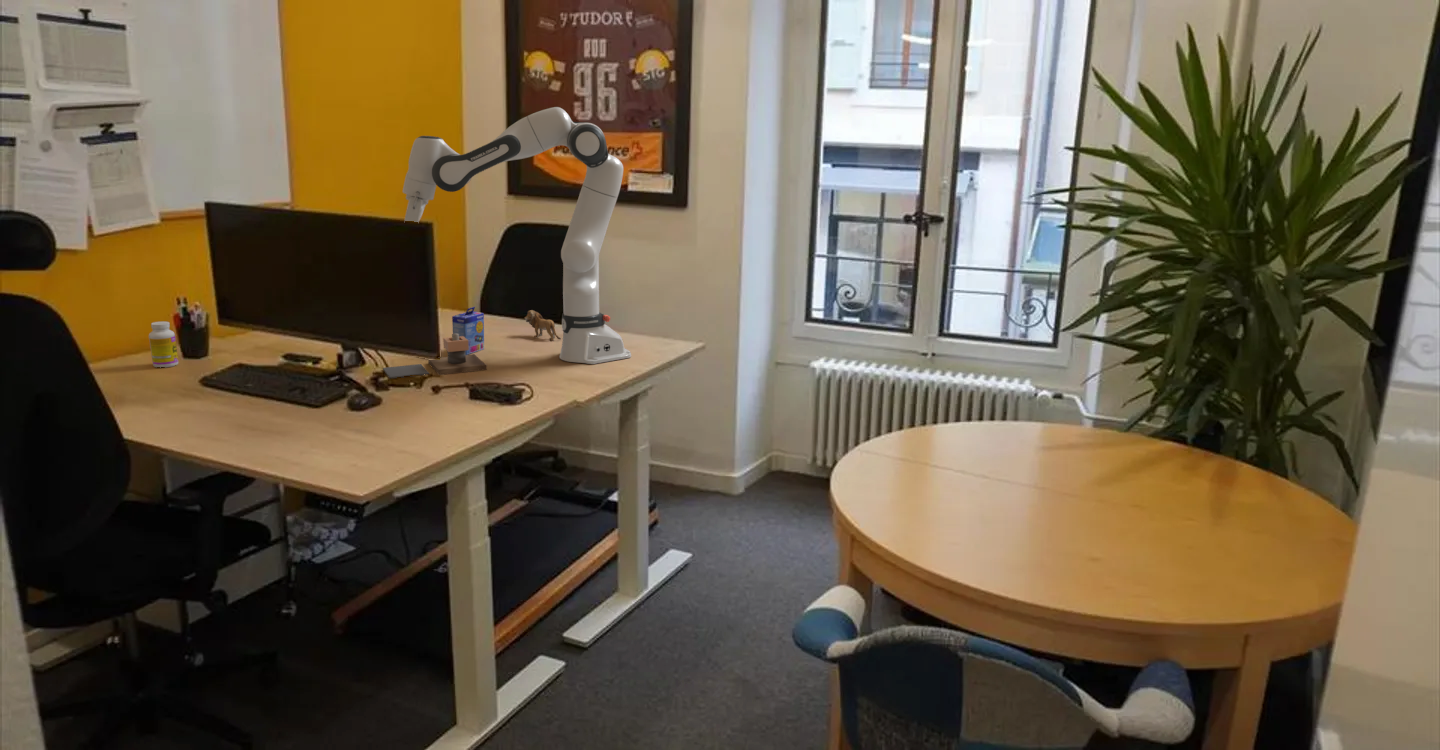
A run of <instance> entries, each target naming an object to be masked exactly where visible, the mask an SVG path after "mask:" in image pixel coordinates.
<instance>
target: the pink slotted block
mask: <svg viewBox="0 0 1440 750" xmlns="http://www.w3.org/2000/svg"><path fill="white" fill-rule="evenodd" d="M442 340H443V341H442V342H443V348H444V350H445V351H446V352H447V351H448V352H455V351H465V350H469V345H468V340H467V339H466V338H465V337H464V336H459V340H456V341H452V336H451V337H449V336H448V337H443V338H442Z"/></svg>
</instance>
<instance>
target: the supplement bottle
mask: <svg viewBox="0 0 1440 750" xmlns="http://www.w3.org/2000/svg"><path fill="white" fill-rule="evenodd" d="M150 325H151V329H152V331H151V332H149V334H148V340H149V348H150V352H151V353H150V354H151V360H152V366H153V367H154V368H157V367H160V368H161V367H165V368H173V367H175V365H176V366H177V365H179V357H178V347H177V343H176V342H177V341H176V334H175V332H174V331H173V330H171V329H170V327H171V326H170V322H169V321H163V320H162V321H153V322H151V324H150ZM160 368H159V369H160ZM161 369H162V368H161Z"/></svg>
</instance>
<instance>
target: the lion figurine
mask: <svg viewBox="0 0 1440 750" xmlns="http://www.w3.org/2000/svg"><path fill="white" fill-rule="evenodd" d="M524 320H525V322H526V323H528V324H529V325H530V326H531V327H532V328H534V332H535V335H534V336H533V338H539V337H542V336H543V333H544V331H546V333H547V334H548V336H550V338H549V341H550V342H552V341H554V339H555V338H556V339H558V340H562V338H561V337H559V336H558V335H557V332H556V328H555V322H554V320H552V319H545V318H543V316H542V315H541V313H539V312H538V311H535V310H533V309H531V310H528V311H527V314H526V316H524Z"/></svg>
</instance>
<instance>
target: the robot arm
mask: <svg viewBox="0 0 1440 750" xmlns="http://www.w3.org/2000/svg"><path fill="white" fill-rule="evenodd" d="M558 146H559V147H560V146H564V147H567V149H569V152H570V153H571V155H572V156H573V157H574V158H576V159H577V160H578V161H580V162H581V163H583V164H584V165H586V172H585V177H584V180H583V182H582V186H581V189H580V191H579V194H578V195H579V196H578V199H577V201H576V204H575V207H574V210H573V213H572V216H571V219H570V220H571V221H570V223H569V225H568V229H567V232H566V234H565V238H564V241H563V243H562V247H561V250H560V258H561V261H562V263H563V264H562V265H563V267H562V268H563V269H562V270H563V271H562V272H563V273H562V275H563V276H562V295H563V296H562V299H563V301H562V302H563V305H562V307H563V309H562V310H563V313H562V315H561V327H562V328H561V329H562V343H561V349H560V353H559V360H562V361H564V362H568V363H569V362H570V363H582V364H588V365H594V364H595V365H596V364H600V363H601V364H602V363H607V362H612V361H617V360H624V359H629V358H631V357H632V353H631V351H630V350H629V349H627V348H625V346H624V345H625V344H624V341H623V337H622V336H621V335H620V334H619V333H618V332H617V331H615V330H614V329H613V328H611V327H610V326H609V325H607V324H606V323H608V322H610V321H611V316H609V315H608V314H604V313H602V312H600V252H601V249H602V246H603V243H604V240H605V237H606V233H607V231H608V228H609V224H610V220H611V218H612V215H613V212H614V209H615V207H616V203H617V201H618V197H619V195H620V191H621V187H622V181H623V177H624V164H623V163H622V161H621V160H620V159H619V158H617V157H616V156H615V155H611V154H610V153H609V150H608V146H607V140H606V137H605V134H604V132H603V131H602V129H601V128H600V127H599V126H598V125H596V124H594V123H591V122H580V121H573V120H572V119H571V117H570V115H569V113H567V112H566V110H565V109H563V108H561V107H559V106H554V107H549V108H546V109H542V110H539V111H536V112H534V113H531V114H529V115H527V116H524V117H522V118H521V119H518V120H517V121H516V122H514V123H513V124H511V125H510V126H508V127H507V128H506V129H505V130H504V131H503V132H501V134H499V135H498V136H497V137H496V138H495V139H493V140H492V141H490V142H488V143H487V144H484V145H481V146H480V147H478V148H475V149H473V150H471V151H468V152H466V153H463V154H460V153H458V152H456V151H455V150H454V149H453V148H451V147H450V145H448V143H446V142H445V141H444V139H443V138H441V137H439V136H433V135H432V136H431V135H420V136H419V137H416V138H415V139H414V141H413V144H412V147H411V150H410V155H409V158H408V169H407V172H406V174H405V178H404V183H403V188H402V193H403V194H405V195H406V196H405V200H407V201H408V202H407V207H406V211H405V215H404V222H405V221H414V222H418V223H419V222H420V220H421V219H422V217H423V213H424V210H425V208H426V205H428V204H429V201H433V200H434V198H435V192H436V189H437V187H438V188H439V189H441V190H442V191H444V192H450V193H451V192H452V193H453V192H454V193H455V192H457V191H460V190H462V189H463V188H464V187H465V186H466V185H467V184H468V183H470V181H471V180H472V178H473V177H474V176H476V175H478V174H479V173H482V172H484V171H486V170H488V169H491V168H492V167H495V166H497V165H499V164H502V163H504V162H509V161H516V160H522V159H523V160H524V159H527V158H531V157H534V156H537V155H539V154H542V153H543V152H546V151H548V150H550V149H553V148H554V147H558Z"/></svg>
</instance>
